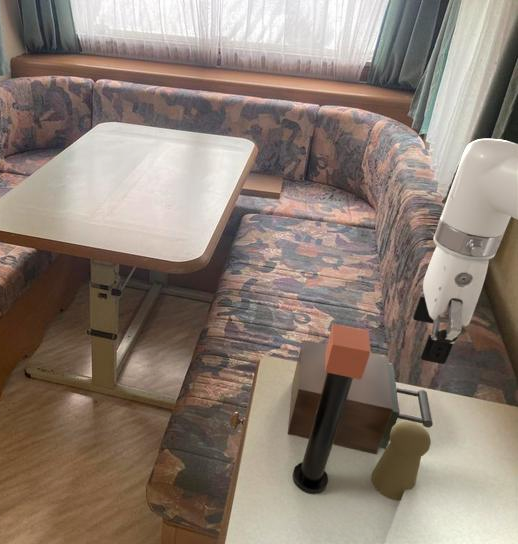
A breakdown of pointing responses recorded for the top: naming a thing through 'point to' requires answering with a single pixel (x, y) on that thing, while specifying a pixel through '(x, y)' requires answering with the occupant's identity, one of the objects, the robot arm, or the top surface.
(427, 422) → the drawer
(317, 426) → the stand
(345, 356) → the block
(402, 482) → the cork
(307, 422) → the cabinet
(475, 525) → the top surface
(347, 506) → the top surface
